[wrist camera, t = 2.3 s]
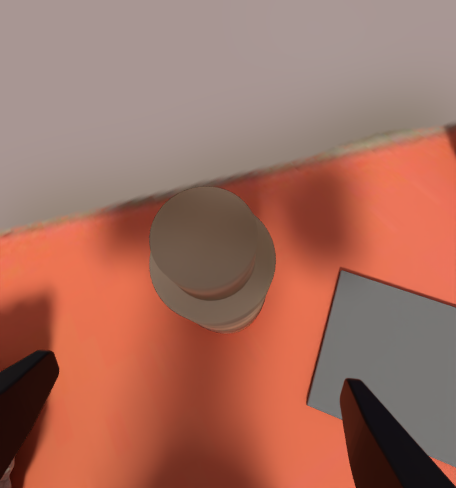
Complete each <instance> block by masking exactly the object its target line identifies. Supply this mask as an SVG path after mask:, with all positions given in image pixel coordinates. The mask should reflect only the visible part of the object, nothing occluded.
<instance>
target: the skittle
mask: <svg viewBox="0 0 456 488" xmlns="http://www.w3.org/2000/svg"><path fill="white" fill-rule="evenodd" d="M149 244H150V250H151V253H150V275H151V279H152V283H153V285H154V288H155V290H156V292H157V294H158V295H159V297H160V298H161V299H162V301H163V302H164V303H165V304H166V305H167V306H168V307H169V308H170V309H171V310H173V311H174V312H176V313H177V314H179V315H181V316H183V317H185V318H187V319H189V320H191V321H193V322H195V323H197V324H198V325H200V326H201V327H203V328H206V329H208V330H210V331H213V332H217V333H222V334H231V333H236V332H239V331H241V330H243V329H245V328H247V327H248V326H249V325H250V324H251V323H252V322H253V321H254V320H255V319H256V317H257V316H258V314H259V312H260V311H261V309H262V306H263V304H264V301H265V297H266V294H267V292H268V289H269V287H270V284H271V282H272V279H273V276H274V272H275V264H276V254H275V248H274V244H273V241H272V238H271V236H270V234H269V232H268V230H267V229H266V227H265V226H264V224H263V223H262V222H261V221H260V220H259V219H258V218H257V217H256V216H255V215H254V214H253V213H252V211H251V210H250V208H249V207H248V205H247V204H246V203H245V202H244V201H243V200H242V199H241V198H240V197H238V196H237V195H235V194H233V193H232V192H230V191H227V190H225V189H221V188H217V187H210V186H206V187H195V188H191V189H188V190H185V191H183V192H181V193H178V194H177V195H175V196H174V197H172V198H171V199H169V200H168V201H167V202H166V203H165V204H164V205H163V206H162V207H161V209H160V210H159V211H158V213H157V214H156V216H155V218H154V220H153V223H152V226H151V229H150V236H149Z"/></svg>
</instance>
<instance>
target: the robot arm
mask: <svg viewBox="0 0 456 488" xmlns="http://www.w3.org/2000/svg"><path fill="white" fill-rule="evenodd" d="M58 375H59V366H58V363H57V360H56V357H55V354H54V352H52V351H50V350H38V351H36V352H34V353H32V354H30V355H29V356H27V357H25V358H24V359H22V360H20V361H18V362H17V363H15V364H13V365H12V366H10V367H8V368H6V369H5V370H3V371H1V372H0V480H1V479H2V477H3V475H4V474H5V472H6V470H7V469H8V467H9V465H10V464H11V462H12V460H13V459H14V457H15V456H16V454H17V452H18V451H19V449H20V447H21V446H22V444H23V442H24V441H25V439H26V437H27V436H28V434H29V432H30V431H31V429H32V427H33V425H34V423H35V422H36V420H37V418H38V416H39V414H40V412H41V410H42V408H43V406H44V404H45V402H46V400H47V398H48V396H49V394H50V392H51V390H52V388H53V386H54V384H55V382H56V380H57V378H58ZM340 408H341V414H342V421H343V427H344V433H345V439H346V445H347V451H348V457H349V463H350V467H351V471H352V475H353V479H354V483H355V487H356V488H456V486H455V485H454V484H453V483H452V482H451V481H450V480H449V478H448V477H447V476H446V475H445V474H444V473H443V472H442V470H441V469H440V468H439V467H438V466H437V465H436V464H435V463H434V461H433V460H432V459H431V458H430V457H429V456H428V455H427V454H426V452H425V451H424V450H423V449H422V448H421V447H420V446H419V444H418V443H417V442H416V441H415V440H414V439H413V438H412V437H411V435H410V434H409V433H408V432H407V431H406V430H405V429H404V428H403V426H402V425H401V424H400V423H399V422H398V421H397V420H396V419H395V417H394V416H393V415H392V414H391V413H390V412H389V411H388V409H387V408H386V407H385V406H384V405H383V404H382V403H381V402H380V400H379V399H378V398H377V397H376V396H375V395H374V394H373V393H372V391H371V390H370V389H369V388H368V387H367V386H366V385H365V384H364V382H363V381H362V380H360V379H355V378H346V379H345V380H344V383H343V387H342V391H341V394H340Z"/></svg>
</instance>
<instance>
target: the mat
mask: <svg viewBox="0 0 456 488" xmlns="http://www.w3.org/2000/svg"><path fill="white" fill-rule="evenodd" d="M346 378H355V379H360V380H362V381H363V382H364V384H365V385H366V386H367V387H368V388H369V389H370V390H371V391H372V393H373V394H374V395H375V396H376V397H377V398H378V399H379V400H380V402H381V403H382V404H383V405H384V406H385V407H386V408H387V409H388V411H389V412H390V413H391V414H392V415H393V416H394V417H395V419H396V420H397V421H398V422H399V423H400V424H401V425H402V426H403V428H404V429H405V430H406V431H407V432H408V433H409V434H410V435H411V437H412V438H413V439H414V440H415V441H416V442H417V443H418V444H419V446H420V447H421V448H422V449H423V450H424V451H425V452H426V454H427V455H428V456H430V457H432V458H435V459H437V460H440V461H442V462H444V463H447V464H449V465H452V466H454V467H456V308H455V307H452V306H449V305H446V304H443V303H440V302H437V301H434V300H431V299H428V298H425V297H422V296H419V295H416V294H413V293H410V292H407V291H404V290H401V289H397V288H394V287H391V286H388V285H385V284H382V283H379V282H376V281H373V280H370V279H367V278H364V277H361V276H358V275H355V274H352V273H349V272H346V271H343V270H341V271H340V275H339V279H338V283H337V287H336V291H335V295H334V299H333V302H332V306H331V310H330V314H329V318H328V322H327V326H326V330H325V334H324V338H323V342H322V346H321V350H320V353H319V357H318V361H317V365H316V369H315V373H314V377H313V381H312V385H311V389H310V393H309V397H308V401H307V405H308V406H310V407H313V408H315V409H318V410H320V411H322V412H325V413H327V414H329V415H332V416H334V417H337V418H339V419H341V420H342V414H341V408H340V394H341V391H342V387H343V383H344V380H345V379H346Z"/></svg>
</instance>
